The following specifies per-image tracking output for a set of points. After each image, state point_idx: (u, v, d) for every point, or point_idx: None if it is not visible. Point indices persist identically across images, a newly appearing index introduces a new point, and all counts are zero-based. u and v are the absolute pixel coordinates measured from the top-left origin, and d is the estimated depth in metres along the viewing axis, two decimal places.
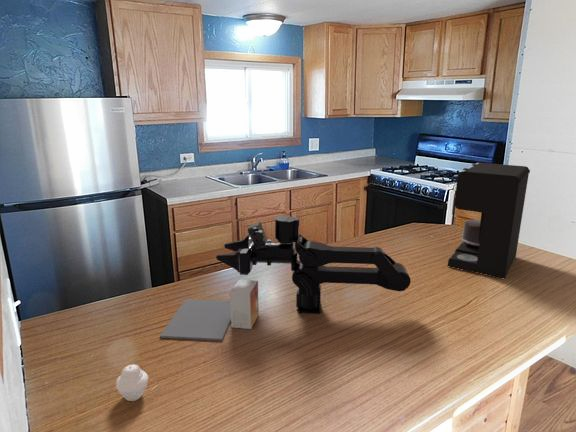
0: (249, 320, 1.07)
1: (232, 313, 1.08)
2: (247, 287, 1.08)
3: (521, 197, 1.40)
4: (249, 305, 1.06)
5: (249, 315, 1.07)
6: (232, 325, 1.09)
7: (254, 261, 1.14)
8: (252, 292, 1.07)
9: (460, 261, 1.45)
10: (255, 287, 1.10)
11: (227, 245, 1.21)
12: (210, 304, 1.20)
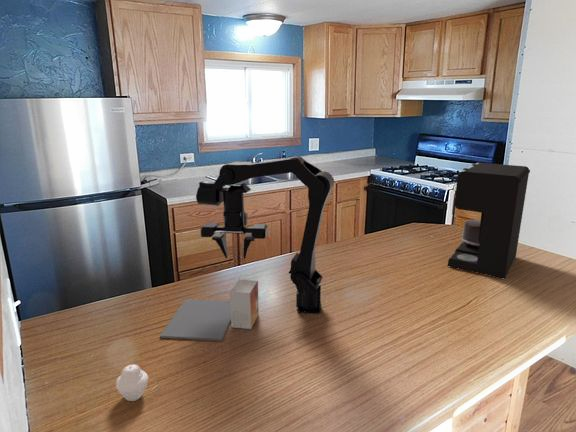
0: (249, 320, 1.07)
1: (232, 313, 1.08)
2: (247, 287, 1.08)
3: (521, 197, 1.40)
4: (249, 305, 1.06)
5: (249, 315, 1.07)
6: (232, 325, 1.09)
7: None
8: (252, 292, 1.07)
9: (460, 261, 1.45)
10: (255, 287, 1.10)
11: None
12: (210, 304, 1.20)
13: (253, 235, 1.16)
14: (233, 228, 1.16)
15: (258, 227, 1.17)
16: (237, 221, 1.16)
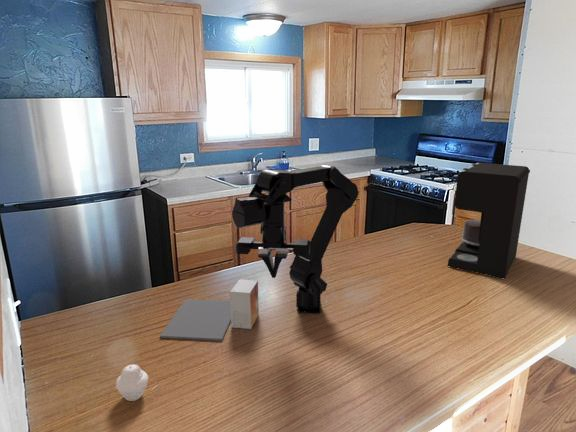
0: (249, 320, 1.07)
1: (232, 313, 1.08)
2: (247, 287, 1.08)
3: (521, 197, 1.40)
4: (249, 305, 1.06)
5: (249, 315, 1.07)
6: (232, 325, 1.09)
7: (263, 242, 1.04)
8: (252, 292, 1.07)
9: (460, 261, 1.45)
10: (255, 287, 1.10)
11: None
12: (210, 304, 1.20)
13: (295, 252, 1.02)
14: (272, 244, 1.03)
15: (300, 243, 1.03)
16: (277, 236, 1.02)
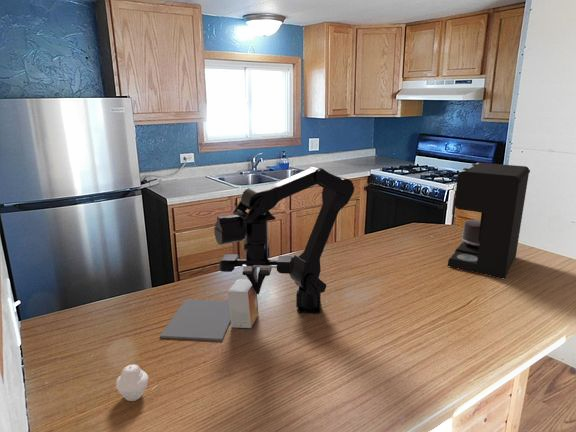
0: (248, 319, 1.07)
1: (231, 313, 1.08)
2: (245, 286, 1.08)
3: (521, 197, 1.40)
4: (248, 304, 1.06)
5: (248, 314, 1.07)
6: (232, 325, 1.09)
7: None
8: (250, 291, 1.07)
9: (460, 261, 1.45)
10: None
11: None
12: (210, 304, 1.20)
13: (279, 270, 1.04)
14: (256, 262, 1.04)
15: (284, 260, 1.05)
16: (260, 254, 1.04)
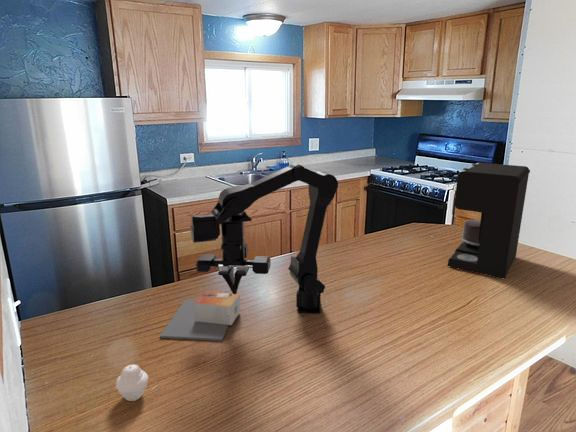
0: (221, 307, 1.08)
1: (216, 322, 1.09)
2: None
3: (521, 197, 1.40)
4: (205, 305, 1.09)
5: (216, 306, 1.08)
6: (229, 324, 1.09)
7: (223, 260, 1.06)
8: (199, 299, 1.11)
9: (460, 261, 1.45)
10: (203, 294, 1.14)
11: None
12: None
13: (254, 270, 1.04)
14: (232, 262, 1.05)
15: (260, 261, 1.05)
16: (236, 254, 1.04)
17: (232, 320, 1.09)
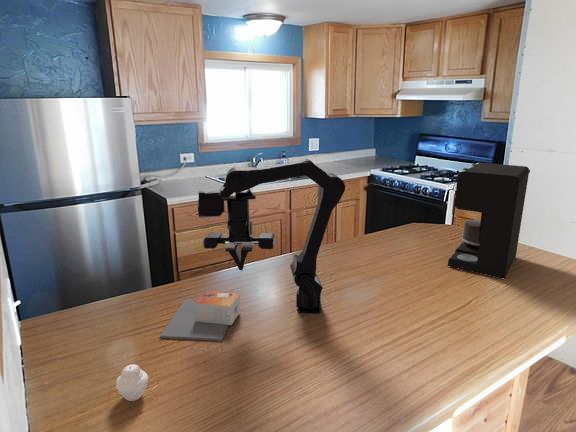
0: (221, 307, 1.08)
1: (216, 322, 1.09)
2: None
3: (521, 197, 1.40)
4: (205, 305, 1.09)
5: (216, 306, 1.08)
6: (229, 324, 1.09)
7: None
8: (199, 299, 1.11)
9: (460, 261, 1.45)
10: (203, 294, 1.14)
11: None
12: None
13: (260, 245, 1.08)
14: (238, 238, 1.08)
15: (265, 237, 1.09)
16: (242, 230, 1.08)
17: (232, 320, 1.09)
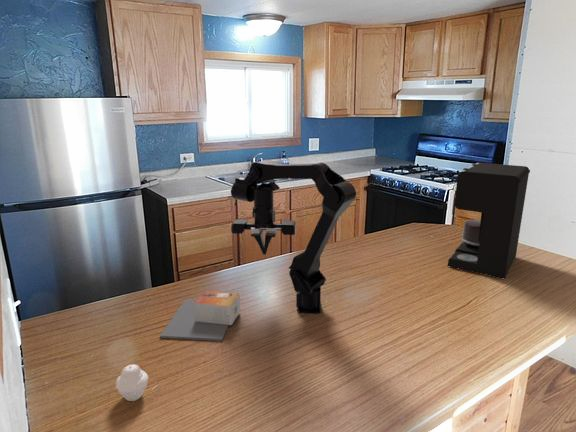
0: (221, 307, 1.08)
1: (216, 322, 1.09)
2: None
3: (521, 197, 1.40)
4: (205, 305, 1.09)
5: (216, 306, 1.08)
6: (229, 324, 1.09)
7: (255, 223, 1.20)
8: (199, 299, 1.11)
9: (460, 261, 1.45)
10: (203, 294, 1.14)
11: None
12: None
13: (283, 231, 1.19)
14: (263, 225, 1.19)
15: (287, 224, 1.20)
16: (267, 217, 1.19)
17: (232, 320, 1.09)
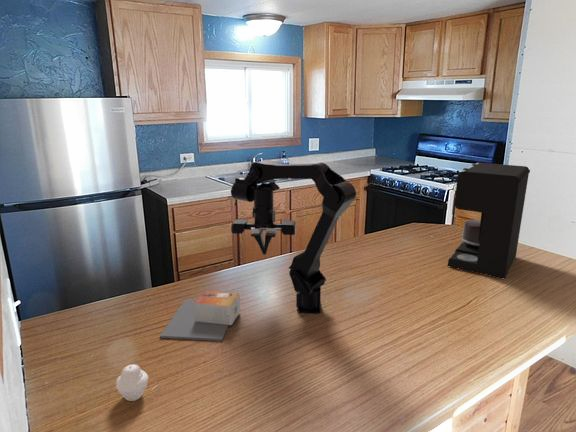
0: (221, 307, 1.08)
1: (216, 322, 1.09)
2: None
3: (521, 197, 1.40)
4: (205, 305, 1.09)
5: (216, 306, 1.08)
6: (229, 324, 1.09)
7: (255, 223, 1.20)
8: (199, 299, 1.11)
9: (460, 261, 1.45)
10: (203, 294, 1.14)
11: None
12: None
13: (283, 231, 1.19)
14: (263, 225, 1.19)
15: (287, 224, 1.20)
16: (267, 217, 1.19)
17: (232, 320, 1.09)
